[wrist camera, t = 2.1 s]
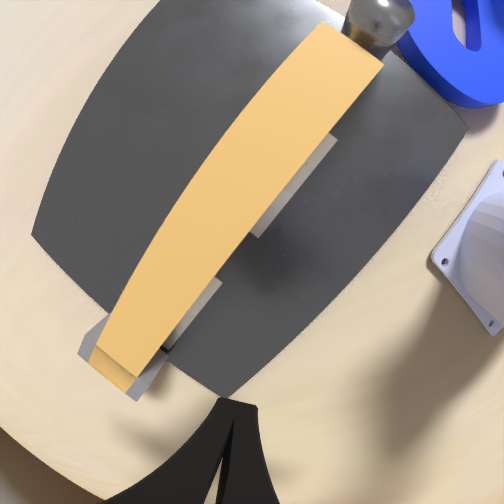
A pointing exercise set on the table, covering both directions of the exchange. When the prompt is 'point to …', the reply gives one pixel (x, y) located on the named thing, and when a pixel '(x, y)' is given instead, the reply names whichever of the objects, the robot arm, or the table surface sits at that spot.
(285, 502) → the table surface
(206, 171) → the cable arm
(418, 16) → the bracket
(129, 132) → the panel
